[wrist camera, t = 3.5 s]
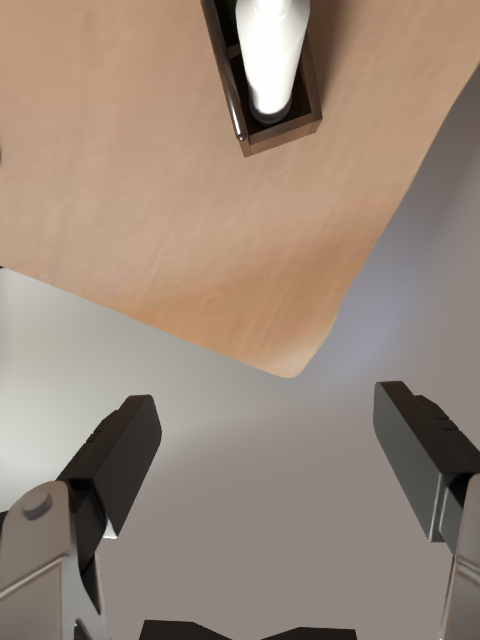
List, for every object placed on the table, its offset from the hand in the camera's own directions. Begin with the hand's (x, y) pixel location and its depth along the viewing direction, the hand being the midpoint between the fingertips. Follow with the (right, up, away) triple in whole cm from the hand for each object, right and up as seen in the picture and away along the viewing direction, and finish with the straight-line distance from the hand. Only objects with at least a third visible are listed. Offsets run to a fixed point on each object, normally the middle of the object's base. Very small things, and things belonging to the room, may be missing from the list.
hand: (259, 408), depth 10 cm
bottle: (+3, +30, +25) cm, 39 cm away
